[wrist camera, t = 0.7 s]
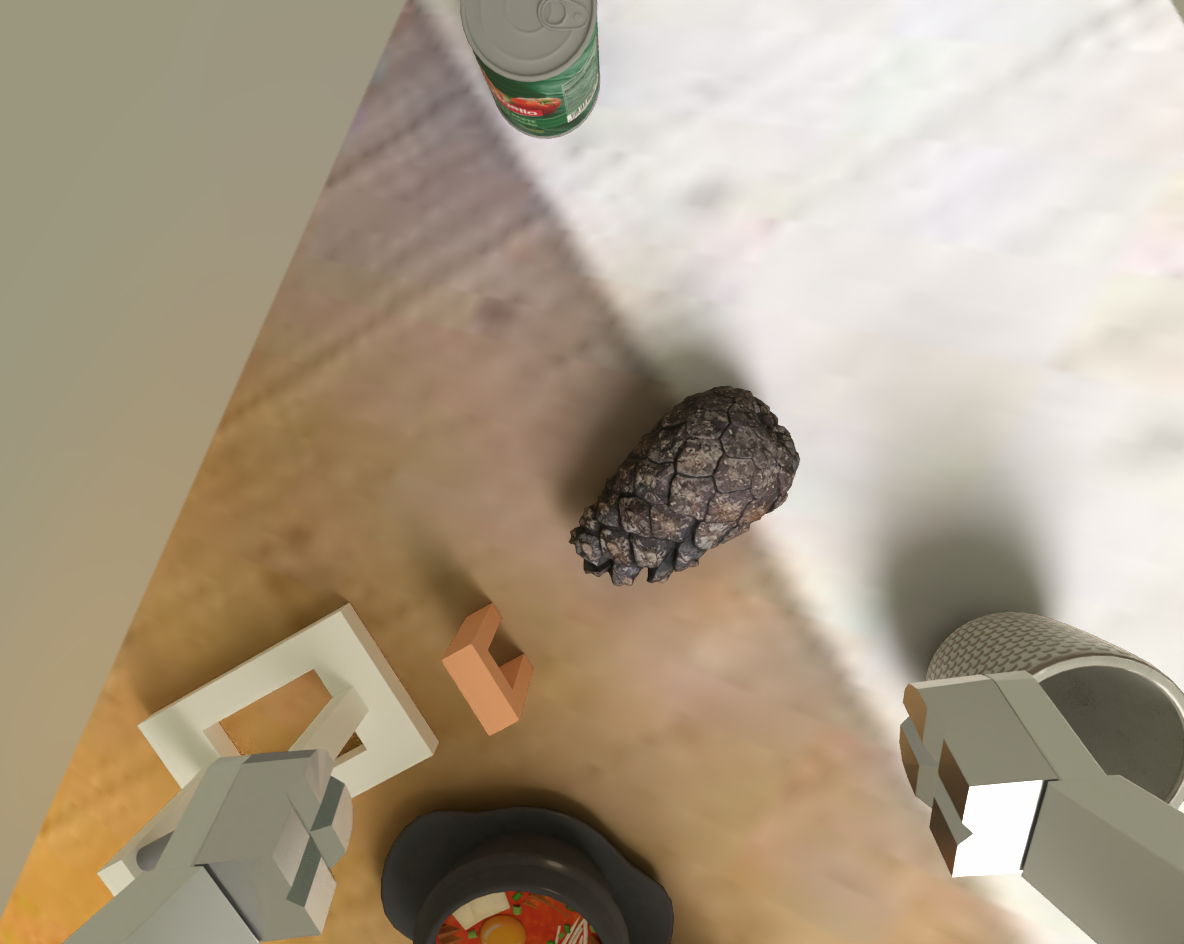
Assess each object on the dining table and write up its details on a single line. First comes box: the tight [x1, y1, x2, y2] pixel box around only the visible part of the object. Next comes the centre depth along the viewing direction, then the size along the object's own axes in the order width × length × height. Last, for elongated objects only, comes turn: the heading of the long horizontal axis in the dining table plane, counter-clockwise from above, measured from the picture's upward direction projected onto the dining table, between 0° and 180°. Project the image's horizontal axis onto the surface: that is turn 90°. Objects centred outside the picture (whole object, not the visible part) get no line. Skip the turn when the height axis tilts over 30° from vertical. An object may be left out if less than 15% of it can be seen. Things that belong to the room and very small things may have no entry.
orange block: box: [441, 603, 533, 736], centre depth 54 cm, size 6×2×8 cm, turn 30°
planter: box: [926, 612, 1184, 809], centre depth 51 cm, size 14×14×13 cm
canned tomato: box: [460, 0, 600, 139], centre depth 46 cm, size 8×8×11 cm
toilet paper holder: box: [97, 603, 439, 897], centre depth 53 cm, size 20×14×14 cm
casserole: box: [381, 806, 674, 944], centre depth 57 cm, size 25×19×8 cm
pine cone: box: [569, 386, 800, 586], centre depth 51 cm, size 10×18×10 cm, turn 139°
